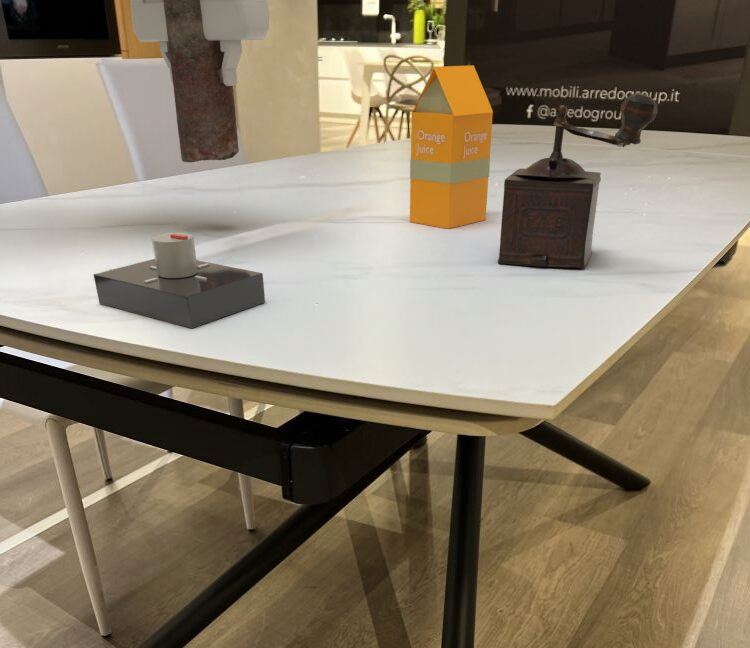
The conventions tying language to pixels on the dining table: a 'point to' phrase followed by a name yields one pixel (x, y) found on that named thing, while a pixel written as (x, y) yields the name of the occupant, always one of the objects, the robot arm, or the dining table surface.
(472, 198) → the orange juice
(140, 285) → the dark grey flat block
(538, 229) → the manual coffee grinder
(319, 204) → the dining table surface
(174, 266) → the knob
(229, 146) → the rusty brown cylinder
